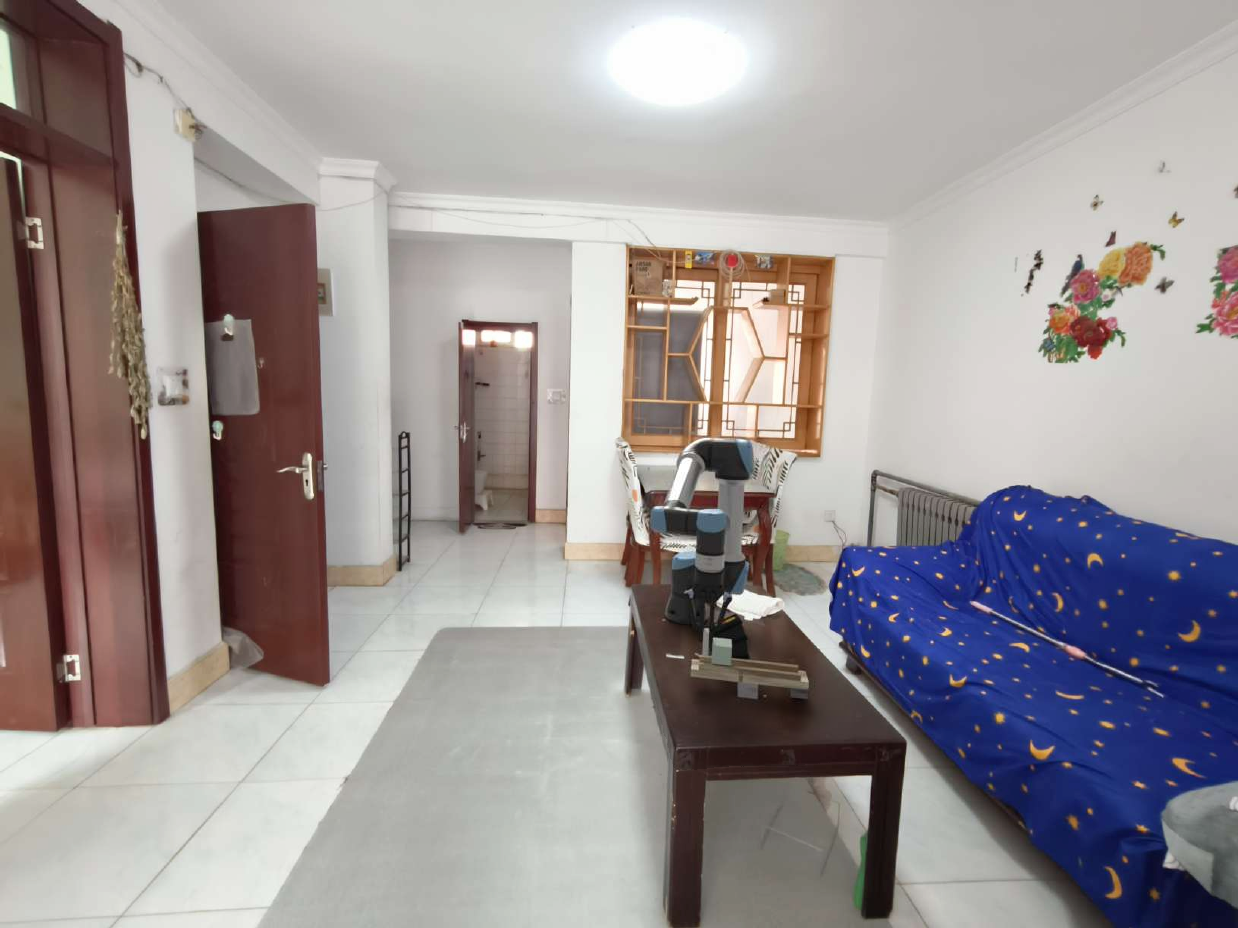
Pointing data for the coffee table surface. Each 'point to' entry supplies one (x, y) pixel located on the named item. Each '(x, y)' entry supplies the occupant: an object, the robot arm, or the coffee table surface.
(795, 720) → the coffee table surface
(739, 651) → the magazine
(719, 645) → the block
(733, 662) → the beam
